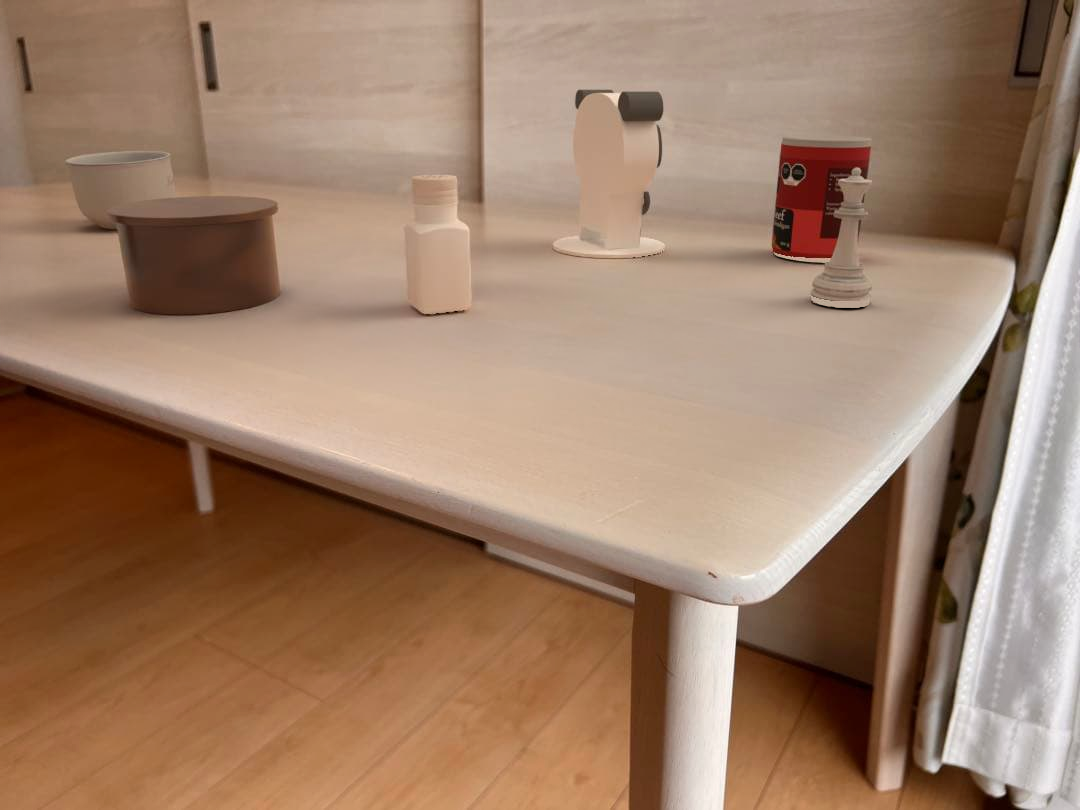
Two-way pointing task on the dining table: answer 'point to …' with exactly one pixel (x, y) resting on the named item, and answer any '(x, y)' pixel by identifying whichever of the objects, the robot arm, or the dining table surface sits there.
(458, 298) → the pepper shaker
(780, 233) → the canned food
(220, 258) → the walnut stand
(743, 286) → the dining table surface
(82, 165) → the teacup
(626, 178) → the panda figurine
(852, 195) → the chess piece
